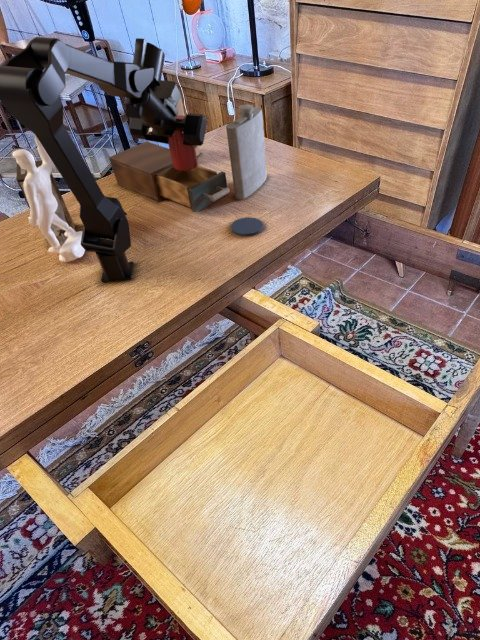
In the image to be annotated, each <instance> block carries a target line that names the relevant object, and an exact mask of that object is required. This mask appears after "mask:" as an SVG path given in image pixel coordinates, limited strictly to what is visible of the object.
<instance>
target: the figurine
mask: <svg viewBox="0 0 480 640" xmlns="http://www.w3.org/2000/svg"><path fill="white" fill-rule="evenodd" d="M33 136H34V142H35V144H36V149H37V152H38V155H39V157H40V160H42V162H43V163H42V165H41V166H40V167H38V168H37V167H36V165H35V161H36V160H35V158H34V155H33V154H32V153H31V152H30V151H29V150H27V149H23V148H21V149H15V150H14V151H13V152H12V157H13V158H14V159H15V162H16V164H19V166H20V167H21V168H22V169H26V170H27V171H28V174H27V175H26V177H25V181H24V183H23V187H24V191H25V194H26V198H27V200H28V202H27V204H28V203H29V204H28V206H29V212H30V213H29V216H28V217H27V219H28V224H29V225H30V226H31V227H33V228H37V227H38V229H39V231H40V232H41V234H42V236H44V238H45V237H46V238H45V240H46V239H47V240H48V241H49V243H50V244H51V247H50V246H49V248H48V252H49V254H59V255H58V260H59V261H60V262H61V263H70V262H74V261H75V260H77V259H80V258H82V257H83V256H84V255H85V251H86V250H85V249H84V248H83V247H82V246H81V238H82V232H83V230H78V231H76V229H75V230H74V229H73V228H71V227H69V225H68V224H67V223H66V222H64V221H63V220H61V219H60V218H59V217H58V216H57V215H56V214H55V211H56V210H57V207H58V203H57V201H56V198H55V197H54V196H53V194H52V188H51V180H50V174H51V173H52V171H53V162H52V160H51V158H50V157H49V155H48V154H47V152H46V151H45V149H44V147H43V146H42V144H41V143H40V141H39V140H38V138H37V137H36V135H35V134H34V133H33ZM26 198H25V199H26ZM27 200H26V201H27ZM52 223H53V224H54V225H57V226H58V227H60V228H61V229H63V230H65V231H66V232H65V233H64V235H65V236H66V237H68V238H67V240H66V241H65V243H64V244H62V245H60V244H59V241H58V240H57V238H56V236H55V234H54V233H53V231H52V230H51V228H50V227H51V224H52ZM47 240H46V241H47Z"/></svg>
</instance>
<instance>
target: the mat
mask: <svg viewBox="0 0 480 640" xmlns="http://www.w3.org/2000/svg"><path fill="white" fill-rule="evenodd" d="M230 229H231V232H232V233H233V234H235V235H237V236H242V237H248V236H249V237H250V236H255V235H257V234H259V233H261V232H262V230H263V229H264V224H263V222H262V221H261V220H260V219H258V218H257V217H256V218H255V217H242V218H238V219H236V220H234V221H233V222H232V223H231V225H230Z"/></svg>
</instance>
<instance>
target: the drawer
mask: <svg viewBox="0 0 480 640" xmlns="http://www.w3.org/2000/svg"><path fill="white" fill-rule="evenodd" d="M154 177H155V181H156V185H157V189H158V192H159V195H161V196H163V197H166V198H165V199H168V200H170V201H173V202H176V203H178V204H181V205H183V206H186V207H188V208H191V210H192V212H194V213H198V212H200V211H201V210H203V209H205V208H206V207H209V206H210V205H212V204H214V203H216V202H218V201H219V200H220V199H223V198H225V197H227V196H228V195H229V194H230V192H231V190H230V188H229V187H228V181H227V173H226V172H225V171H220V172H217V171H216V170H213V169H209V168H207V167H204V166H202V165H198V166H197V167H196V168H194V169H191V170H184V171H183V170H177V169H175V168H174V167H173V166H172V167H170V168H168V169H166V170H164V171H162V172H160V173H158V174H156V175H154Z"/></svg>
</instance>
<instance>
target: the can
mask: <svg viewBox="0 0 480 640" xmlns="http://www.w3.org/2000/svg"><path fill="white" fill-rule="evenodd" d="M185 117H186V115H185V116H183V115H178V116H176V117H175V118H177V119H184V118H185ZM184 124H185V123H184ZM167 140H168V144H167V145H168V149H170V153H171V158H172V162H173V167H174V168H175V169H177V170H183V171H184V170H191V169H194V168H196V167H197V166H199V159H198V156H197V154H196V149H195V147H191V146H187V145H183V141H184V137H183V133H182V131H176V130H175V134H174V135H172V137H167Z"/></svg>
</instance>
